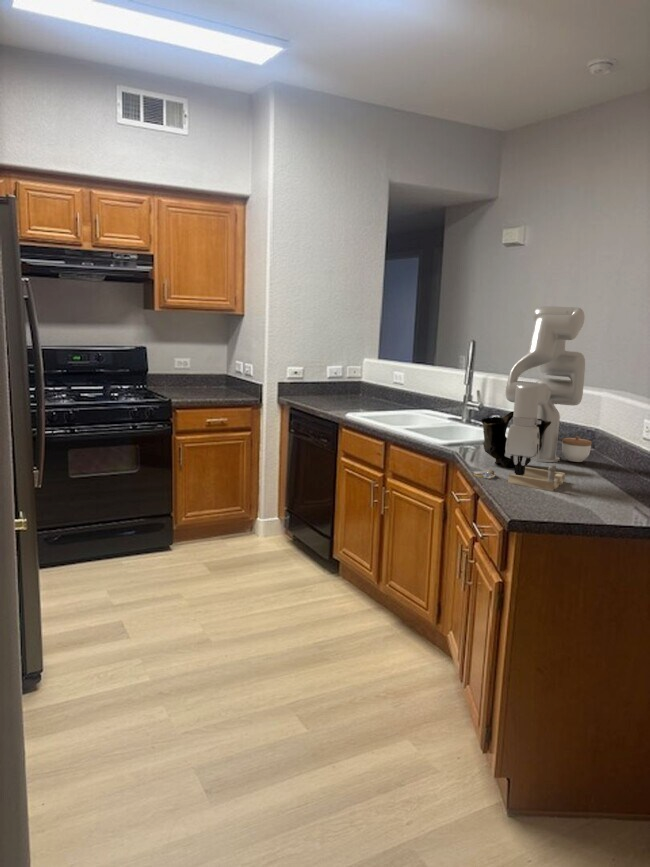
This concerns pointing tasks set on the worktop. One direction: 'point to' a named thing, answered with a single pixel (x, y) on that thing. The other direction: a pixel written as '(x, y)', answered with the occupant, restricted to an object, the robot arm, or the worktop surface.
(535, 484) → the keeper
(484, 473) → the ring
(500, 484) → the worktop surface
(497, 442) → the pottery vessel
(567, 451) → the lidded jar
